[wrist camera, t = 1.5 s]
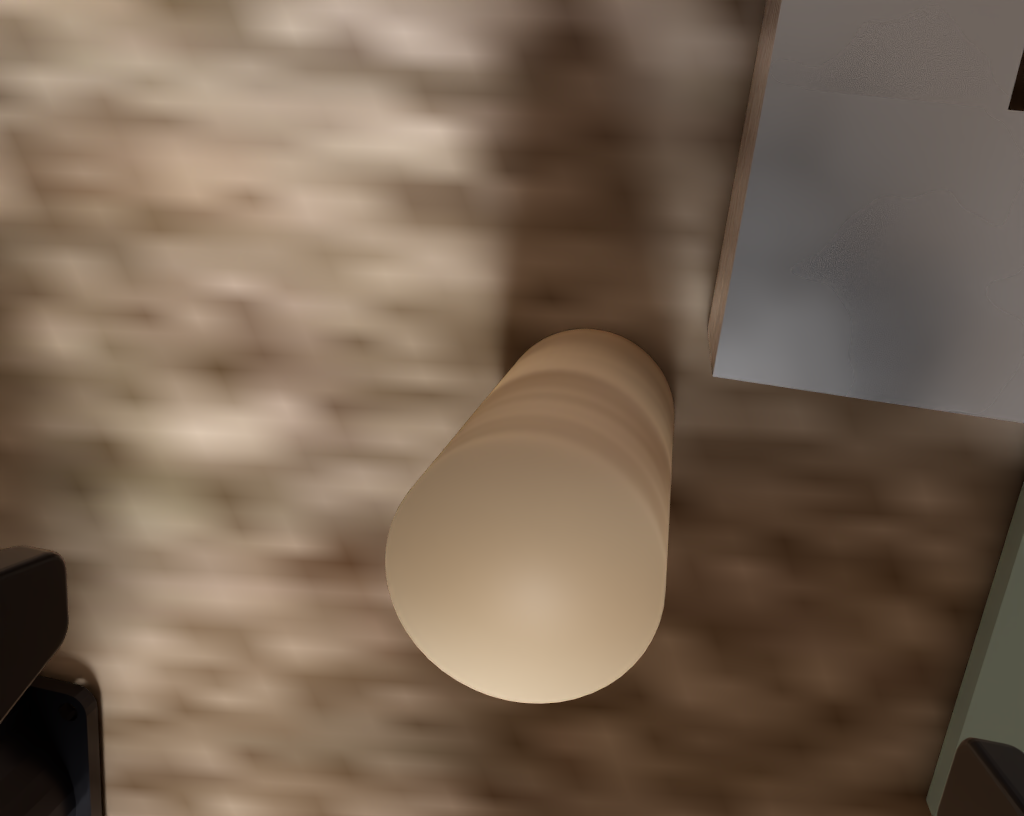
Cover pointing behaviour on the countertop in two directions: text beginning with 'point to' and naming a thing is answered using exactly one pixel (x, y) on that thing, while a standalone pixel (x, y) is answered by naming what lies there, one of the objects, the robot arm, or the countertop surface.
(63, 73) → the countertop surface
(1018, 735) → the coaster
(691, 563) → the countertop surface
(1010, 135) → the block
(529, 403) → the dowel
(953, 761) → the robot arm
